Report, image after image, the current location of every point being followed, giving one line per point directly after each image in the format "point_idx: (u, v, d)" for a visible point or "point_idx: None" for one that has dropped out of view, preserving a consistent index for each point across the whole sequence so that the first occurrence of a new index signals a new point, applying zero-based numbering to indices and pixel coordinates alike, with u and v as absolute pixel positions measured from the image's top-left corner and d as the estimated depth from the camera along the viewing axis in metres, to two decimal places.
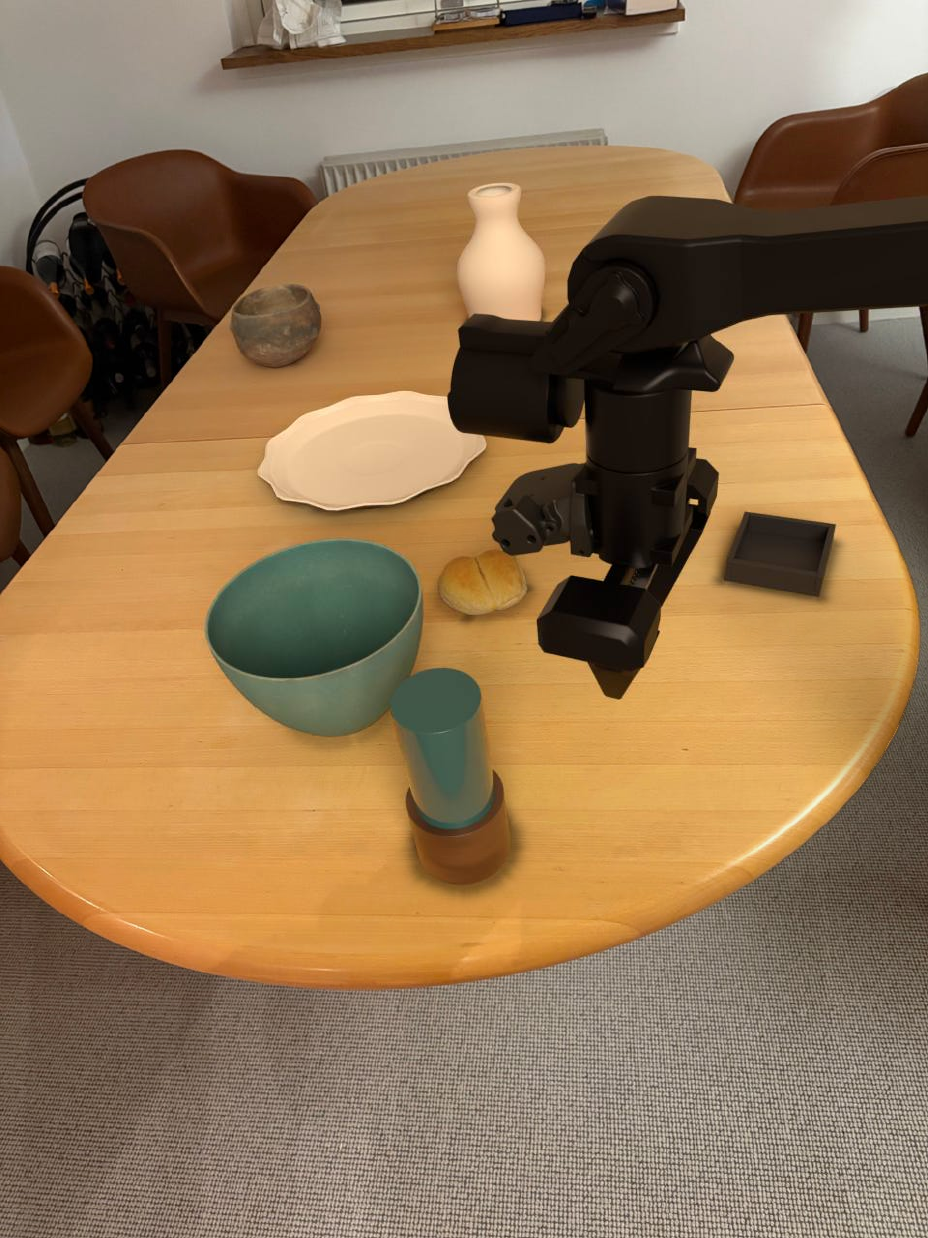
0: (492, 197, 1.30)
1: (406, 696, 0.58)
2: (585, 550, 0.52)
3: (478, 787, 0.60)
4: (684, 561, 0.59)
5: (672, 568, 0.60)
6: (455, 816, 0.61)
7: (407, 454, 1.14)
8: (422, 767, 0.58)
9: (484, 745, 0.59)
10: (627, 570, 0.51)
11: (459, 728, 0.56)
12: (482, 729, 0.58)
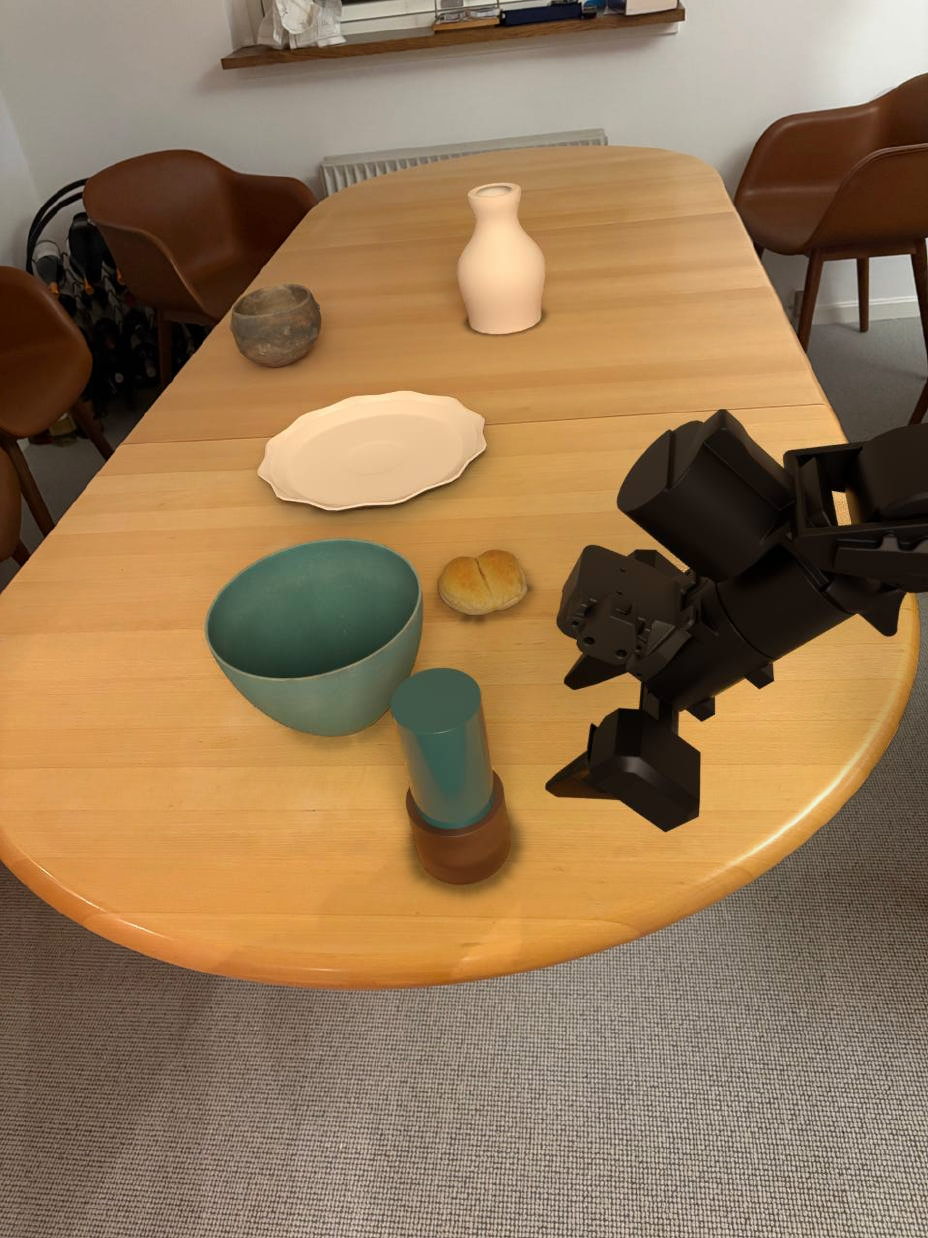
0: (492, 197, 1.30)
1: (406, 696, 0.58)
2: (644, 675, 0.48)
3: (478, 787, 0.60)
4: None
5: (620, 668, 0.59)
6: (455, 816, 0.61)
7: (407, 454, 1.14)
8: (422, 767, 0.58)
9: (484, 745, 0.59)
10: None
11: (459, 728, 0.56)
12: (482, 729, 0.58)
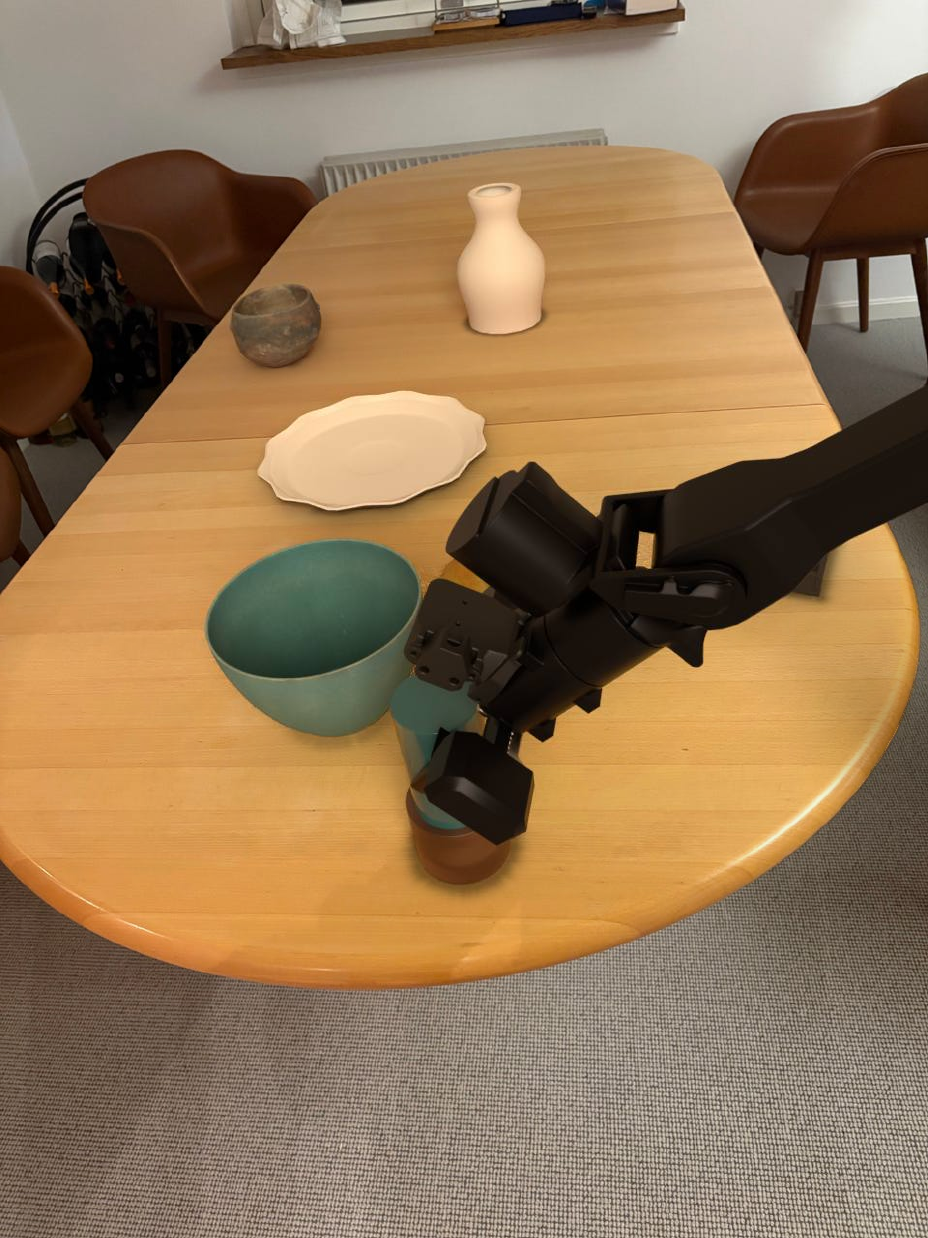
0: (492, 197, 1.30)
1: (406, 696, 0.58)
2: (483, 700, 0.52)
3: None
4: None
5: None
6: None
7: (407, 454, 1.14)
8: (422, 767, 0.58)
9: None
10: (510, 734, 0.53)
11: (458, 728, 0.56)
12: (482, 729, 0.58)
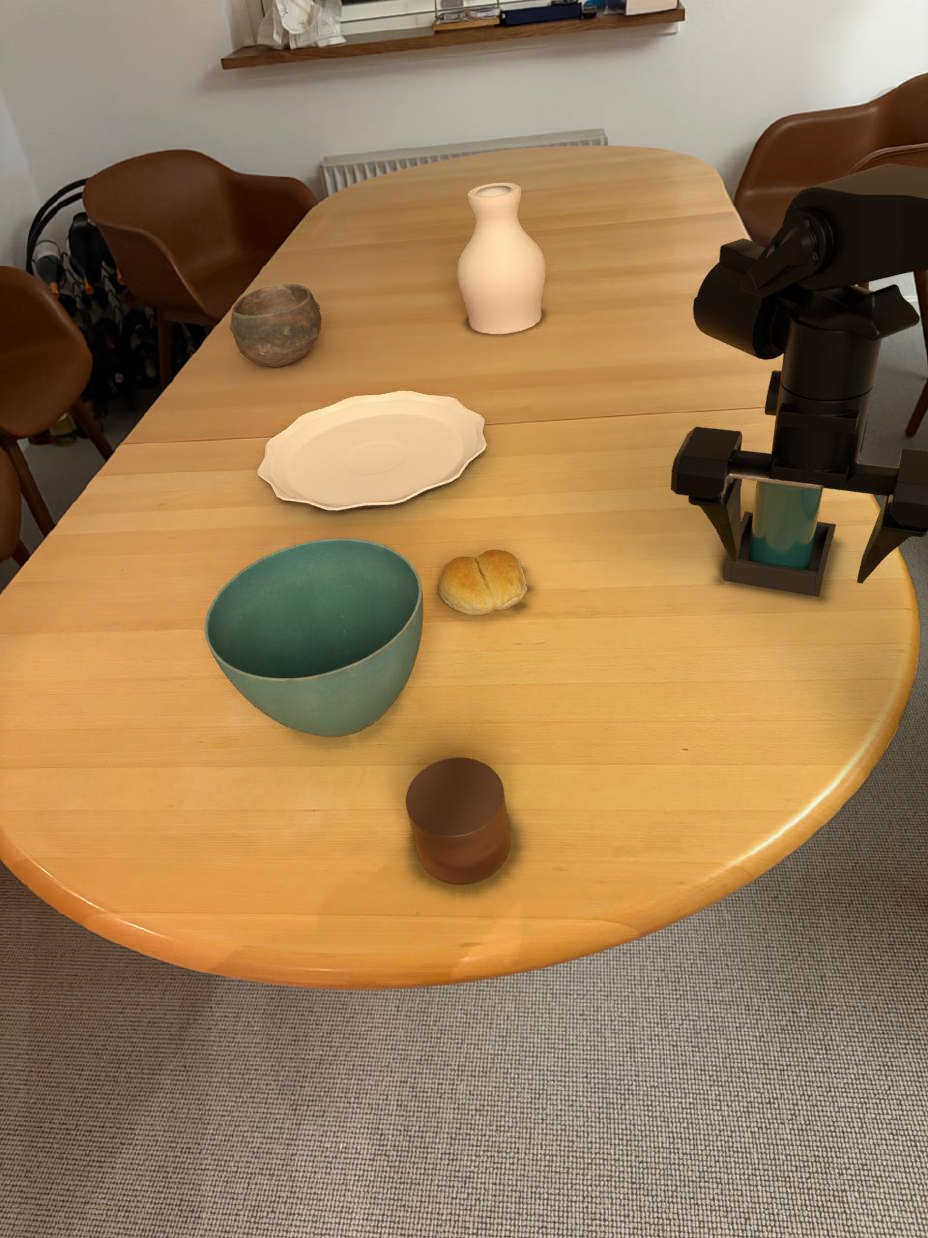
0: (492, 197, 1.30)
1: None
2: None
3: (778, 549, 0.85)
4: (870, 547, 0.62)
5: (868, 548, 0.63)
6: (757, 556, 0.87)
7: (407, 454, 1.14)
8: (754, 506, 0.85)
9: (797, 523, 0.83)
10: (762, 461, 0.63)
11: (778, 489, 0.81)
12: (799, 509, 0.82)
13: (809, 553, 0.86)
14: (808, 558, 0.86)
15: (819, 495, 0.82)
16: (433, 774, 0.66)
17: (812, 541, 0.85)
